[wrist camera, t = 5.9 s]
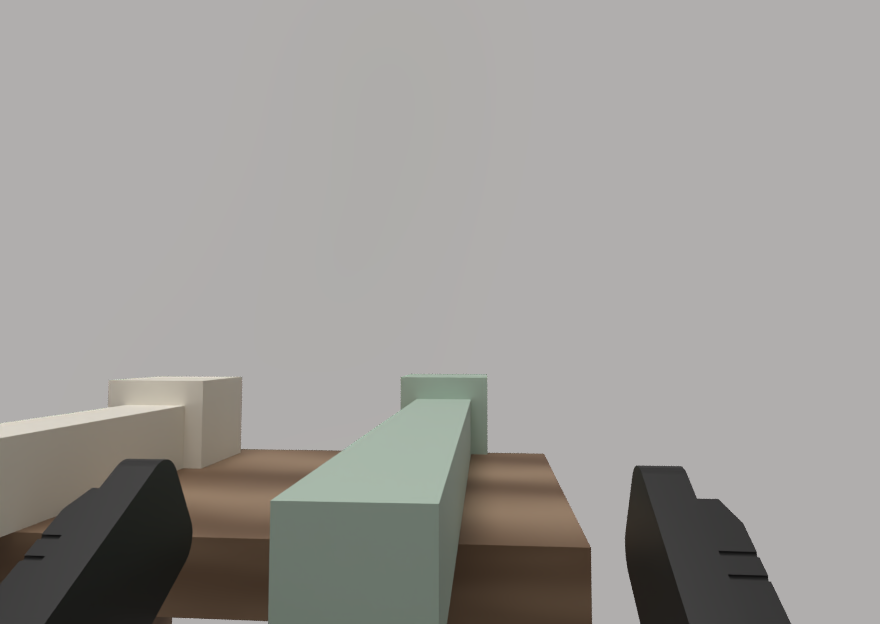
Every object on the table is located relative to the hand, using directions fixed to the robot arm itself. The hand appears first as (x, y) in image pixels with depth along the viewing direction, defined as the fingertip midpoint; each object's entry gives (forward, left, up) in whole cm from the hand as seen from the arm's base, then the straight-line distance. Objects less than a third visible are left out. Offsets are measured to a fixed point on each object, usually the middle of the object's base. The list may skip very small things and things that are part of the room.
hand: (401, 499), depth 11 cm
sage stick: (-6, +8, -2) cm, 10 cm away
